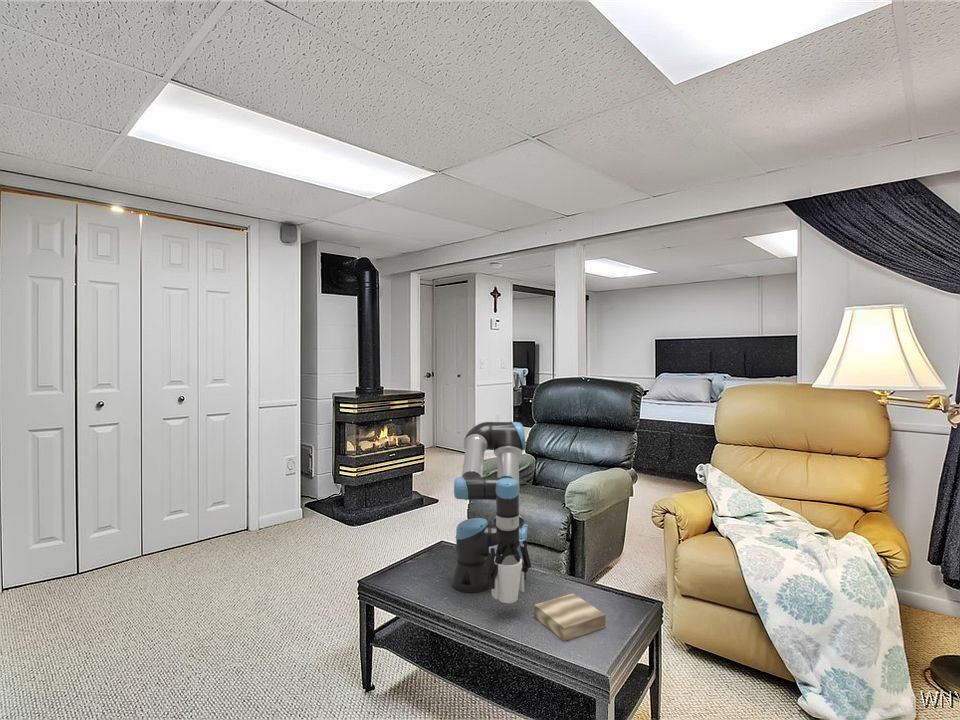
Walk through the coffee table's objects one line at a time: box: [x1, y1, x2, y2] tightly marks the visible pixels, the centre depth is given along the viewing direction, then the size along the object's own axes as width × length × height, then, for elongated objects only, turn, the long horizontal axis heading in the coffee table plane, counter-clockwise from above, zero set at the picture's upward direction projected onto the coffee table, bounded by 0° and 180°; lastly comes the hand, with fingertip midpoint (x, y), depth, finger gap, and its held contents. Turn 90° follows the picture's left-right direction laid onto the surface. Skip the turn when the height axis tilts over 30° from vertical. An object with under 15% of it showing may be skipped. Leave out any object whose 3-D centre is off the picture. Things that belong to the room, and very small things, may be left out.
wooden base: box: [533, 592, 606, 642], centre depth 167 cm, size 16×16×4 cm
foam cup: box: [494, 555, 523, 604], centre depth 172 cm, size 10×9×13 cm
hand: (508, 593), depth 172 cm, fingers closed on foam cup, 9 cm apart
